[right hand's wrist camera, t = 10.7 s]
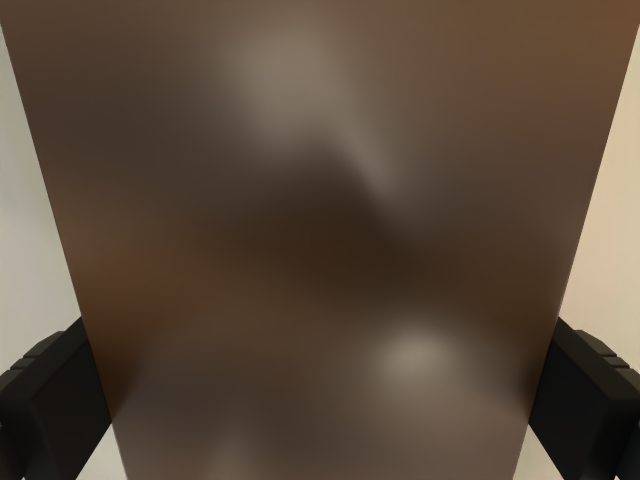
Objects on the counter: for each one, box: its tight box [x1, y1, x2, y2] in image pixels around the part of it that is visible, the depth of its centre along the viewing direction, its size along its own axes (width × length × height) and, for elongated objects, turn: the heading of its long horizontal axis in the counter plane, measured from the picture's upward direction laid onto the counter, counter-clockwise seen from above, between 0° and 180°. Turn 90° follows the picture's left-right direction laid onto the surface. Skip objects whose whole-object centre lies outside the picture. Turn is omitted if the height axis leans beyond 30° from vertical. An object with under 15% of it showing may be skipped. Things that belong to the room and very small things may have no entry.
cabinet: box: [0, 0, 640, 480], centre depth 12 cm, size 21×11×10 cm, turn 0°
